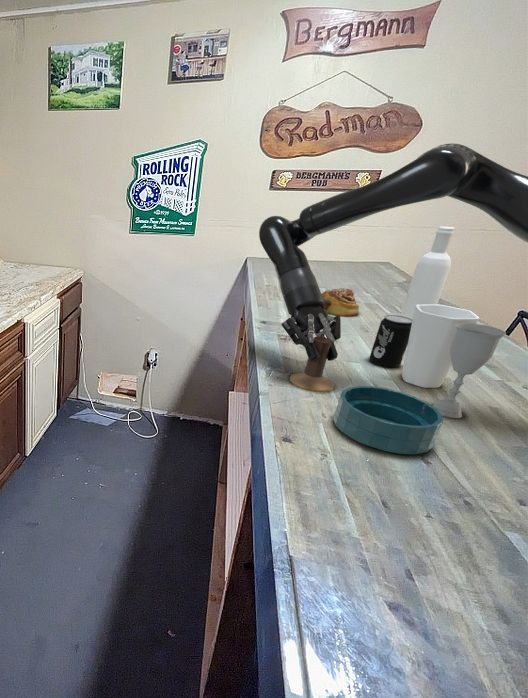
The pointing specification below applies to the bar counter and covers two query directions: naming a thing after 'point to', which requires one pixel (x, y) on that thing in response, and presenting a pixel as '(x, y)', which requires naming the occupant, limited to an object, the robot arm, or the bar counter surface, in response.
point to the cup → (432, 343)
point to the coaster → (311, 382)
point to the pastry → (340, 302)
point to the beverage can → (391, 341)
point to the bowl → (387, 419)
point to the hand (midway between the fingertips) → (324, 359)
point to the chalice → (468, 359)
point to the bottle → (430, 274)
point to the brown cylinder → (323, 348)
